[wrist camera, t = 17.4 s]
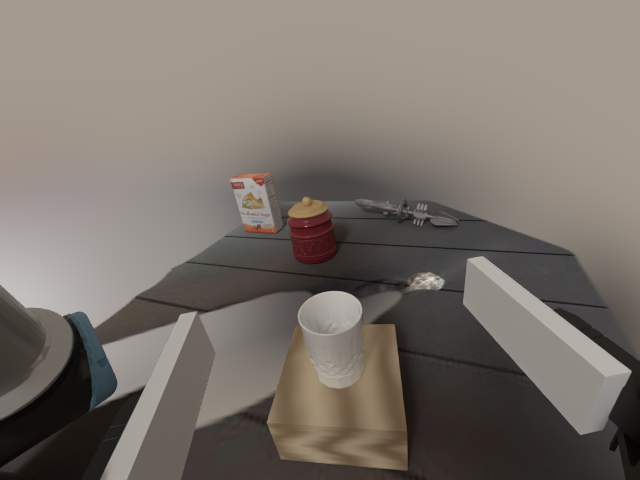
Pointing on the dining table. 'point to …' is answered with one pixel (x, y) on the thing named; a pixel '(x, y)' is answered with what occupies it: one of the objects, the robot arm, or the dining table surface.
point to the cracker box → (257, 202)
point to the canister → (311, 231)
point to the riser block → (343, 408)
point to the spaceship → (409, 212)
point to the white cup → (334, 337)
